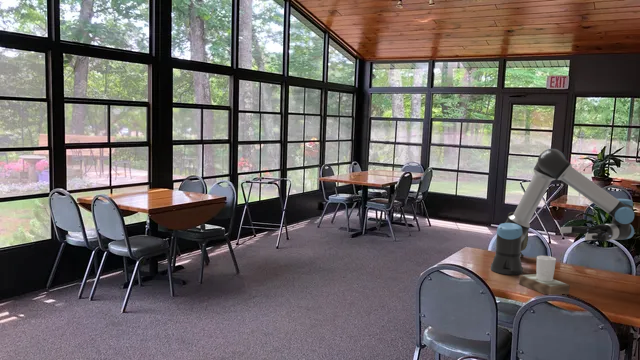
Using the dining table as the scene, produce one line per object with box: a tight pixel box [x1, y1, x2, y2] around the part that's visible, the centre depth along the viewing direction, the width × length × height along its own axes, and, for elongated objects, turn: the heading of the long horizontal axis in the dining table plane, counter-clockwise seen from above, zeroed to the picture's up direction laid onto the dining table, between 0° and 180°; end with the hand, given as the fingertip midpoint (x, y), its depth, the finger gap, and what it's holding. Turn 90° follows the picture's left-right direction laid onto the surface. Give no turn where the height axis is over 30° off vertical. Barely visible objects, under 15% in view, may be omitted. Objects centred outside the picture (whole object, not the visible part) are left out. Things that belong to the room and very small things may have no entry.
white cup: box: [535, 255, 557, 282], centre depth 231 cm, size 8×8×10 cm
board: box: [518, 273, 571, 295], centre depth 232 cm, size 18×11×4 cm, turn 24°
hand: (573, 233), depth 235 cm, fingers open, 13 cm apart
